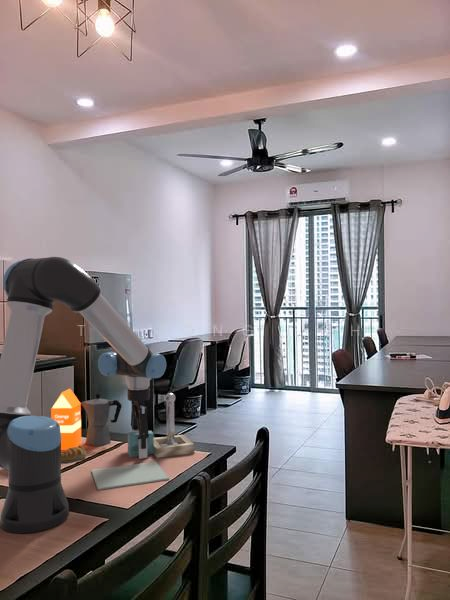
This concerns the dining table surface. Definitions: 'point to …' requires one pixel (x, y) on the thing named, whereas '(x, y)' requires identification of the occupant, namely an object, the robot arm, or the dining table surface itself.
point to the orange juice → (68, 419)
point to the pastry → (73, 454)
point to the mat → (128, 475)
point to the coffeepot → (99, 420)
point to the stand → (170, 419)
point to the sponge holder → (154, 445)
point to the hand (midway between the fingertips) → (139, 453)
